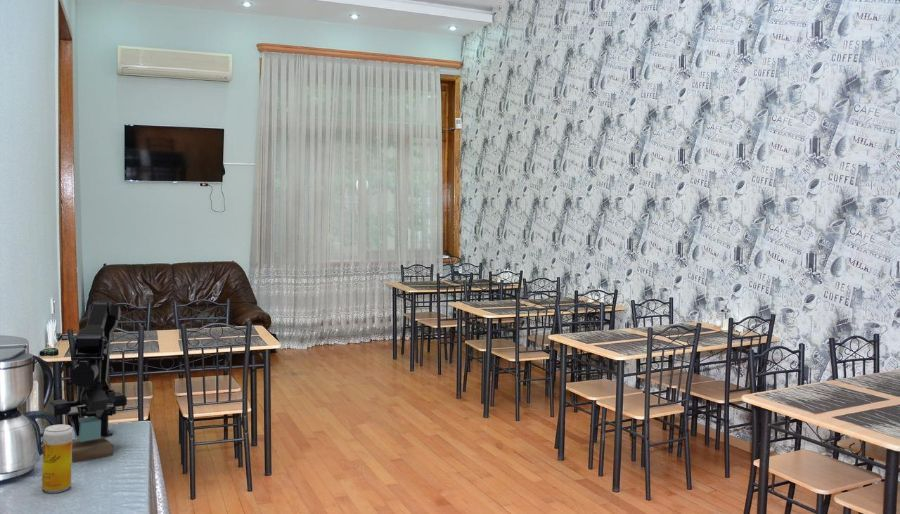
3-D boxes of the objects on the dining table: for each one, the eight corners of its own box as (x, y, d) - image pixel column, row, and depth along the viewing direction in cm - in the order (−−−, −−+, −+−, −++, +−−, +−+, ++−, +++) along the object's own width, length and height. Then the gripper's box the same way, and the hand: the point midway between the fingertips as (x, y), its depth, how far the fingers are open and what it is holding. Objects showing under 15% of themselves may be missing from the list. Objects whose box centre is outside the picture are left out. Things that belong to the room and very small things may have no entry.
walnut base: (61, 452, 195) (61, 441, 195) (99, 445, 202) (99, 435, 202) (73, 462, 188) (74, 451, 188) (112, 455, 195) (113, 444, 195)
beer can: (38, 488, 170) (39, 426, 170) (65, 482, 175) (67, 422, 174) (47, 495, 166) (48, 433, 166) (74, 489, 171) (76, 428, 170)
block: (74, 437, 195) (75, 419, 195) (93, 433, 199) (94, 416, 198) (81, 441, 192) (81, 423, 191) (100, 438, 195) (101, 420, 195)
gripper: (61, 388, 182) (60, 448, 183) (135, 379, 195) (134, 435, 196) (48, 380, 190) (46, 437, 190) (119, 371, 203) (118, 425, 204)
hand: (87, 434), depth 195 cm, fingers closed on block, 5 cm apart
